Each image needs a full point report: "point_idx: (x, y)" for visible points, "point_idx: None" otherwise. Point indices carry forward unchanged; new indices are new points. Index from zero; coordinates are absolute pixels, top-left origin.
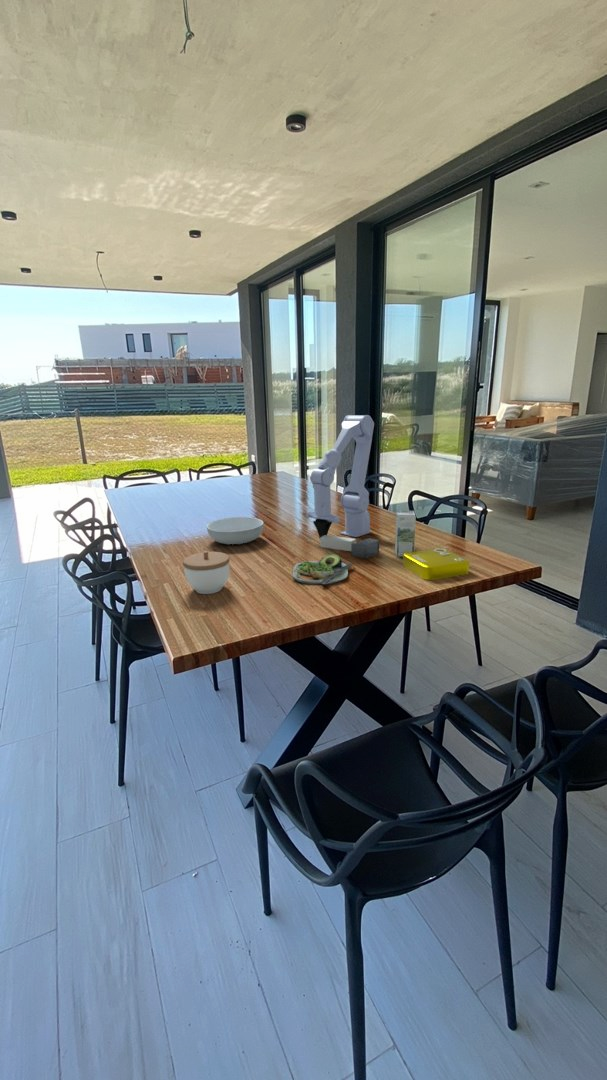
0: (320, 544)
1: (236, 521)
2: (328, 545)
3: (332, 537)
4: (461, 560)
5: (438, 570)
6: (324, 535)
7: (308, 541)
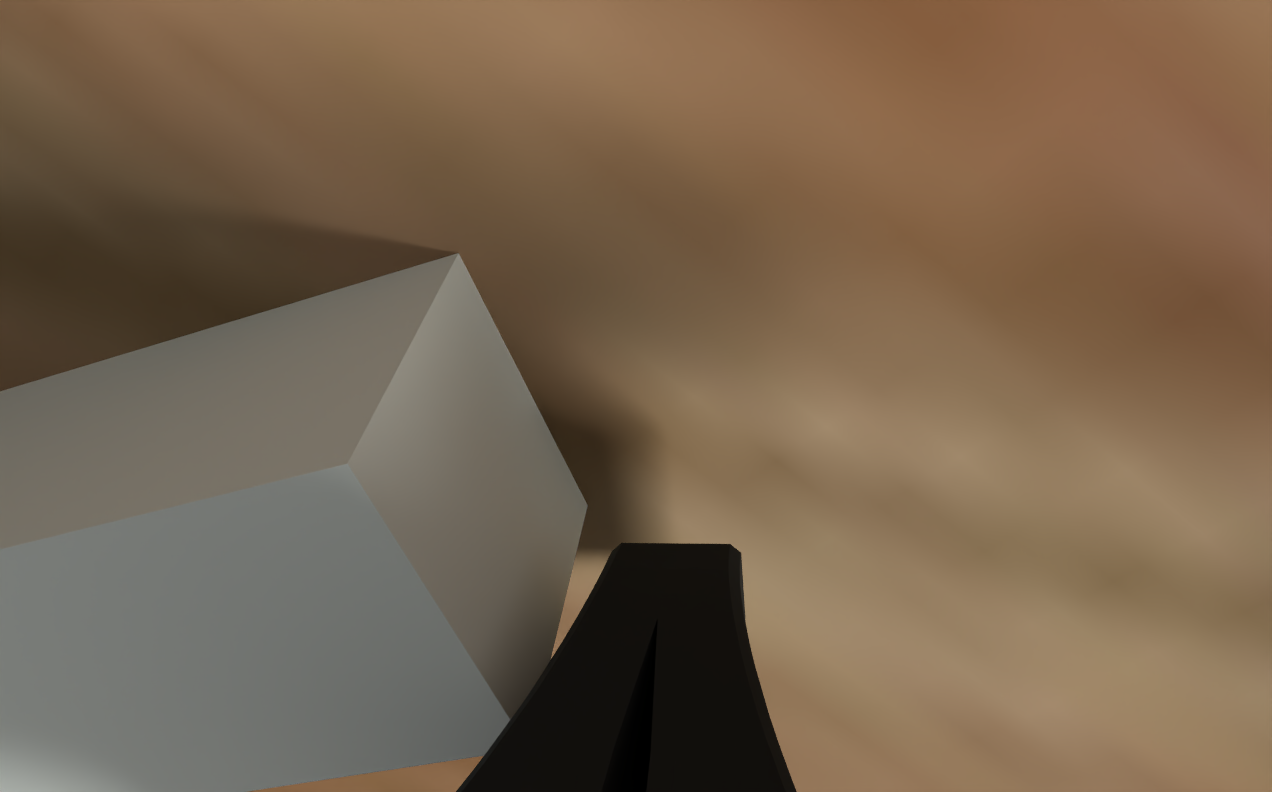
0: (429, 294)
1: None
2: (161, 375)
3: (77, 682)
4: None
5: None
6: (478, 698)
7: (1255, 395)
